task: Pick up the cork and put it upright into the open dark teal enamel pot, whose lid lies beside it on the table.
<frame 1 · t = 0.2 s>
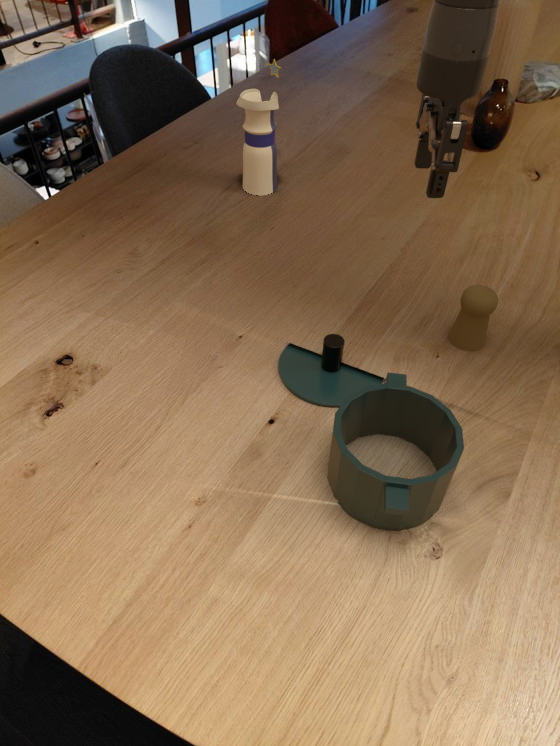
hand: (427, 181, 76), 24 cm above the table, tool pointing down, fingers open, 8 cm apart
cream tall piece: (259, 187, 125), on the table
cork: (463, 348, 89), on the table
pot: (385, 478, 71), on the table
lid: (330, 368, 84), point 1 cm above the table
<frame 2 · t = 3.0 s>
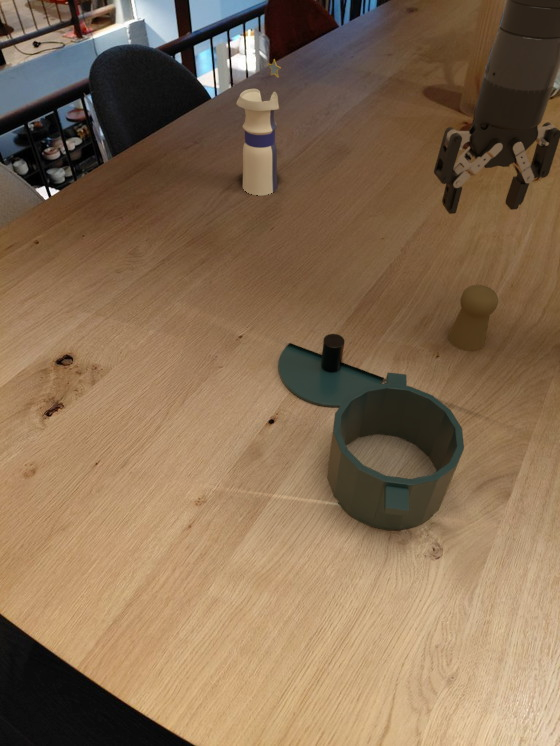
hand: (480, 208, 74), 23 cm above the table, tool pointing down, fingers open, 8 cm apart
nothing on the table moved.
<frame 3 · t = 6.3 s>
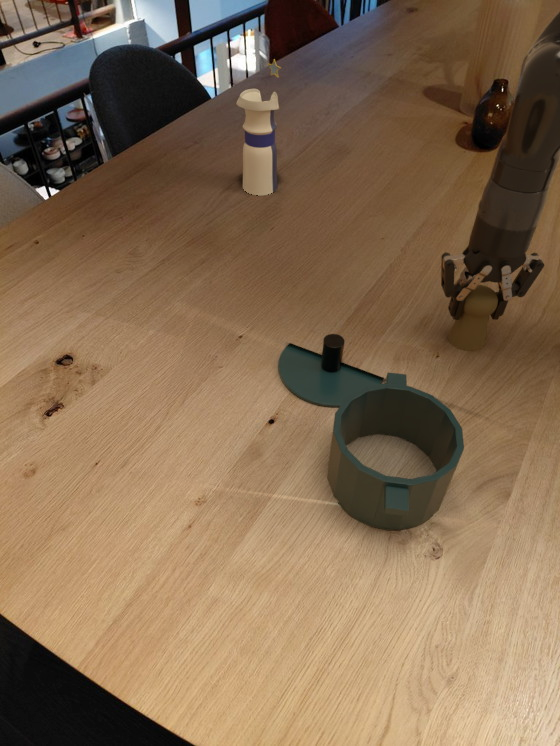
hand: (474, 315, 84), 6 cm above the table, tool pointing down, fingers closed on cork, 5 cm apart
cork: (463, 348, 89), on the table, touching gripper
everything else where it was.
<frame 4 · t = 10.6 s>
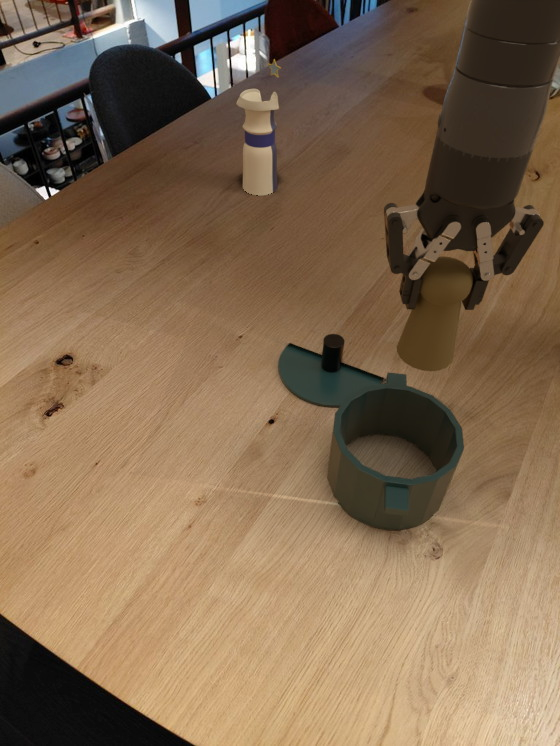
hand: (438, 304, 56), 25 cm above the table, tool pointing down, fingers closed on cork, 5 cm apart
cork: (424, 352, 61), point 18 cm above the table, touching gripper
everything else where it was.
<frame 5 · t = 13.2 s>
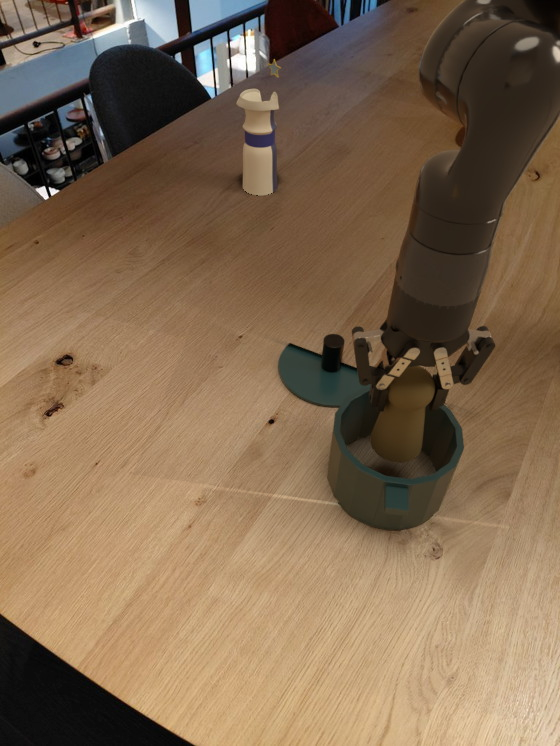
hand: (405, 405, 62), 14 cm above the table, tool pointing down, fingers closed on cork, 5 cm apart
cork: (395, 442, 66), point 7 cm above the table, touching gripper
everything else where it was.
when the fingers open (7 cm above the table, at t = 15.3 s): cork stays where it is, resting on pot.
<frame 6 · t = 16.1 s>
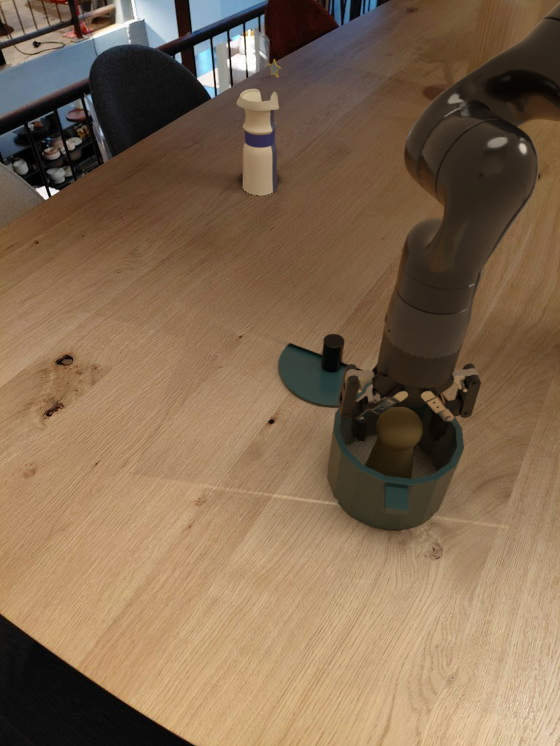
hand: (396, 435, 65), 8 cm above the table, tool pointing down, fingers open, 8 cm apart
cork: (386, 476, 71), resting on pot
everything else where it was.
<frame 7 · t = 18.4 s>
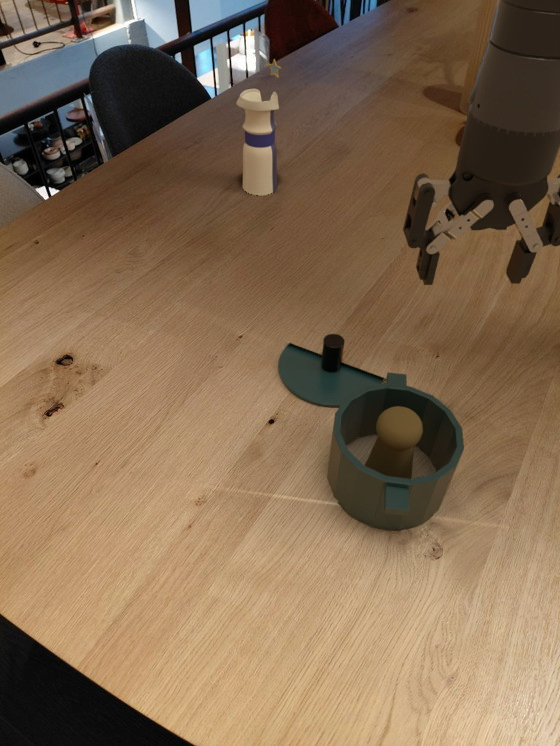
hand: (469, 279, 56), 27 cm above the table, tool pointing down, fingers open, 8 cm apart
nothing on the table moved.
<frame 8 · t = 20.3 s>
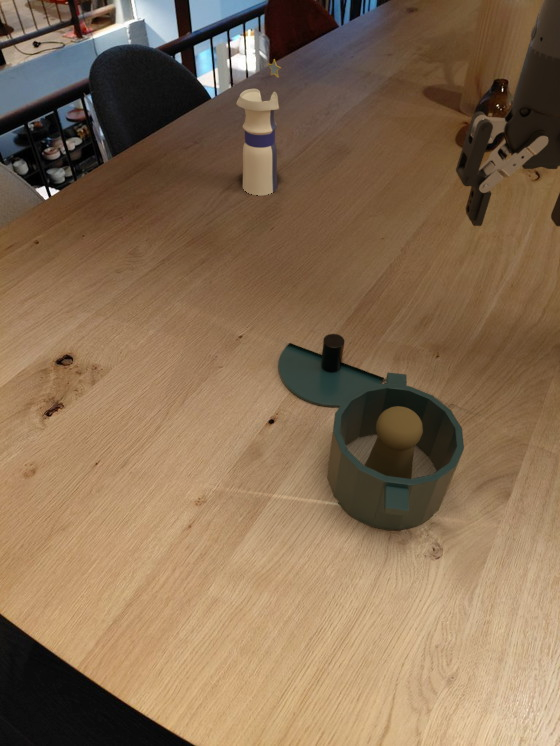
hand: (516, 222, 58), 30 cm above the table, tool pointing down, fingers open, 8 cm apart
nothing on the table moved.
at the end: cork inside the target area in the pot (0.1 cm from its centre), point 0.3 cm above the pot's base; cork tilted 0° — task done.
